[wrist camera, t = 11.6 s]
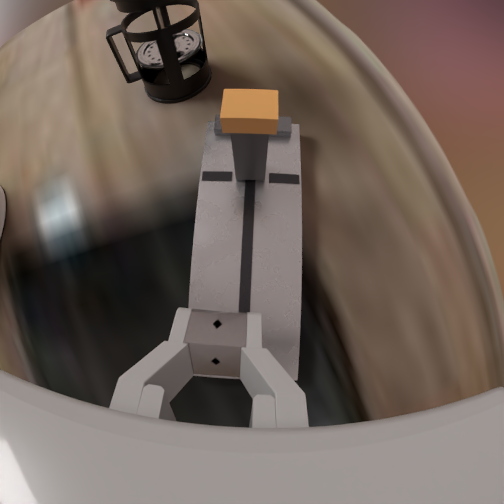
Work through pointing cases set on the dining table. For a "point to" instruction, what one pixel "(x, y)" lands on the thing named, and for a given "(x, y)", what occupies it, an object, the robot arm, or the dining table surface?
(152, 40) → the french press
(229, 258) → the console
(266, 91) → the fader tab
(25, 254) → the dining table surface
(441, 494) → the robot arm
